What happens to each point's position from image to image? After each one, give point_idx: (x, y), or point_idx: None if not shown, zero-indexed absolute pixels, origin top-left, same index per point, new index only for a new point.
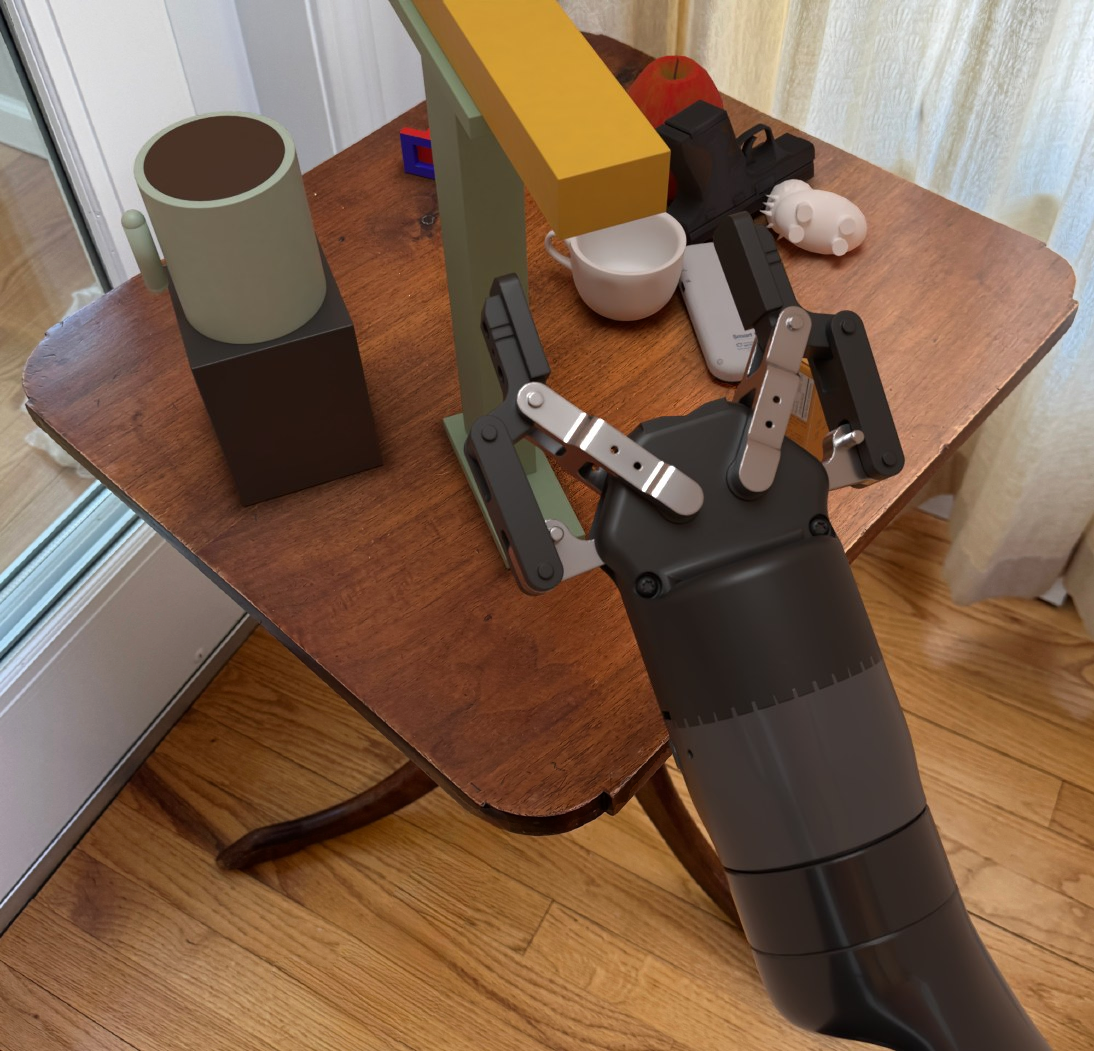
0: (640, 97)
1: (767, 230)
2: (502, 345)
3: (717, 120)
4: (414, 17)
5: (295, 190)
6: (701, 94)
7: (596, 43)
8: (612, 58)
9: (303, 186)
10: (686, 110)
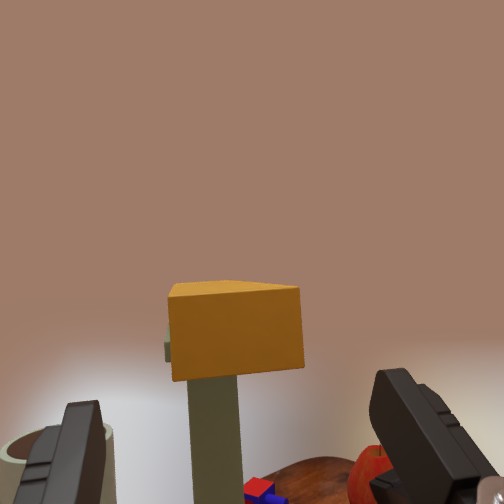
0: (360, 467)
1: (431, 391)
2: (28, 491)
3: None
4: None
5: None
6: None
7: (343, 458)
8: (351, 465)
9: (110, 466)
10: (388, 472)
